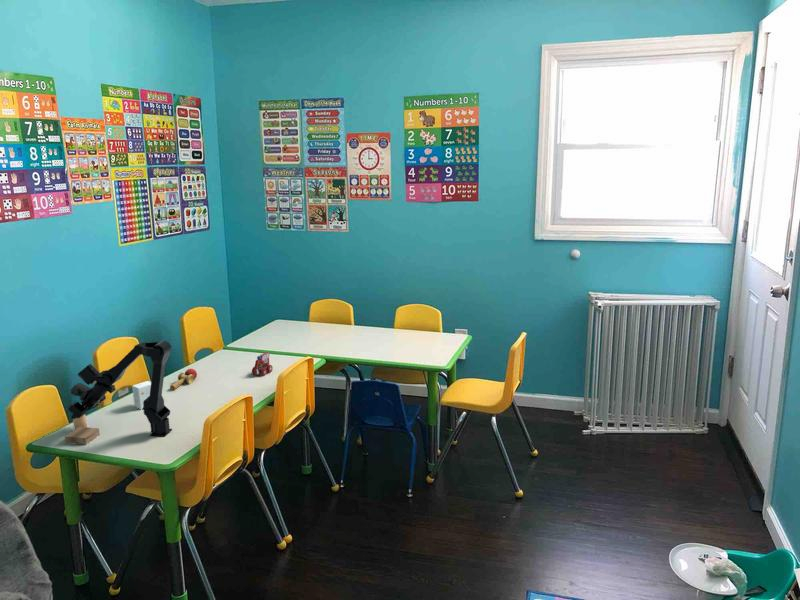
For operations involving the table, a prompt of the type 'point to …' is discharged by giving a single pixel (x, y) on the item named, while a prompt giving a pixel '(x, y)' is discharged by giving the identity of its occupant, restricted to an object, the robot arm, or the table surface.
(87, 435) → the base slab
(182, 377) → the kendama
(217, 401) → the table surface
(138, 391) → the small box
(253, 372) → the toy fire truck
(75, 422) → the cylinder block
